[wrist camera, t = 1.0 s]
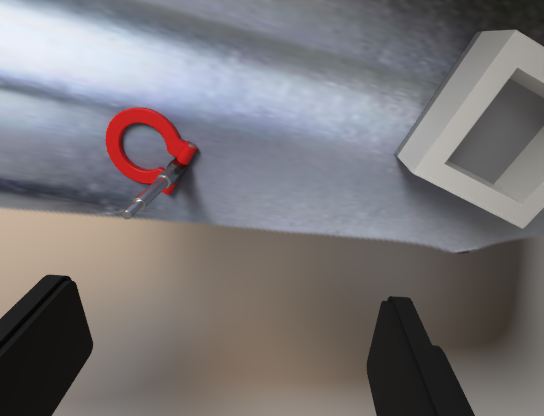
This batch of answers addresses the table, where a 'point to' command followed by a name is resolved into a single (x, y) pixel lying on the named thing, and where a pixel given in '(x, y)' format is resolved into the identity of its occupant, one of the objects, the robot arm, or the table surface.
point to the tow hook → (157, 178)
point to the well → (486, 128)
